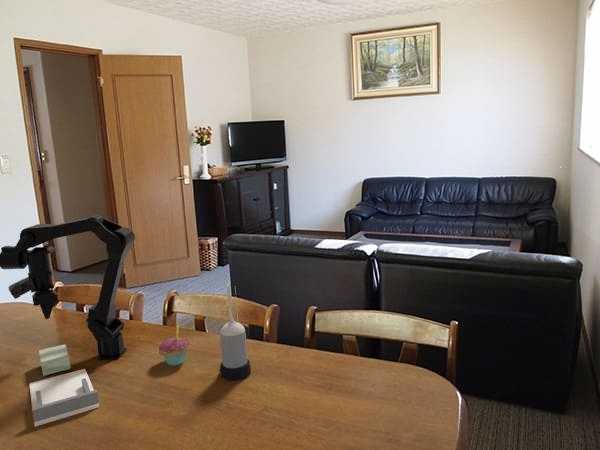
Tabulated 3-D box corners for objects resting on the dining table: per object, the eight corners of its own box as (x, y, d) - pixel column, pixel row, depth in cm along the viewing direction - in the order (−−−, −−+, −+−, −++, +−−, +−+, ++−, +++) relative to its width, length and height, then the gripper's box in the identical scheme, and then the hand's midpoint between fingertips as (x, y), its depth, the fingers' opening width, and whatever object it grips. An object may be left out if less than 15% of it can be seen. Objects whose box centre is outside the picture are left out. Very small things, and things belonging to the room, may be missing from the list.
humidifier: (217, 370, 137) (210, 283, 132) (246, 364, 140) (240, 278, 135) (223, 383, 130) (216, 292, 125) (254, 376, 132) (248, 287, 127)
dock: (29, 386, 134) (27, 369, 134) (85, 372, 141) (83, 355, 140) (35, 430, 114) (32, 410, 113) (99, 410, 121) (97, 392, 120)
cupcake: (194, 355, 147) (190, 316, 144) (185, 369, 138) (181, 328, 136) (166, 355, 148) (162, 317, 145) (155, 368, 139) (150, 328, 137)
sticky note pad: (41, 365, 144) (38, 350, 144) (67, 359, 148) (65, 344, 147) (43, 378, 137) (41, 362, 136) (71, 370, 140) (68, 355, 139)
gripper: (7, 266, 149) (15, 315, 152) (8, 281, 133) (17, 335, 136) (48, 259, 155) (55, 307, 158) (54, 273, 139) (61, 326, 142)
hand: (47, 318), depth 148 cm, fingers closed
